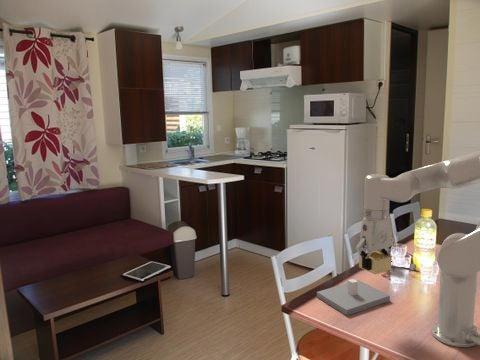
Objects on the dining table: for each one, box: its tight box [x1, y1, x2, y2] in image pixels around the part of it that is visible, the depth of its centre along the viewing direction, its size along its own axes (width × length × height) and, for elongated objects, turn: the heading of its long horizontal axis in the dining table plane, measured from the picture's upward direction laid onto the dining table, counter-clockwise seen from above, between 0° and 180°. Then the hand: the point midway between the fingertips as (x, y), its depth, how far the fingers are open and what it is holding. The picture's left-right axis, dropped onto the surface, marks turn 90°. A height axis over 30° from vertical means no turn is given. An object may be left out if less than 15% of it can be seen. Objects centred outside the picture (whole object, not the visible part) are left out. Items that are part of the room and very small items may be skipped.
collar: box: [358, 251, 392, 275], centre depth 134 cm, size 7×7×4 cm
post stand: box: [316, 278, 391, 316], centre depth 150 cm, size 16×20×7 cm
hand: (374, 266), depth 134 cm, fingers closed on collar, 7 cm apart
